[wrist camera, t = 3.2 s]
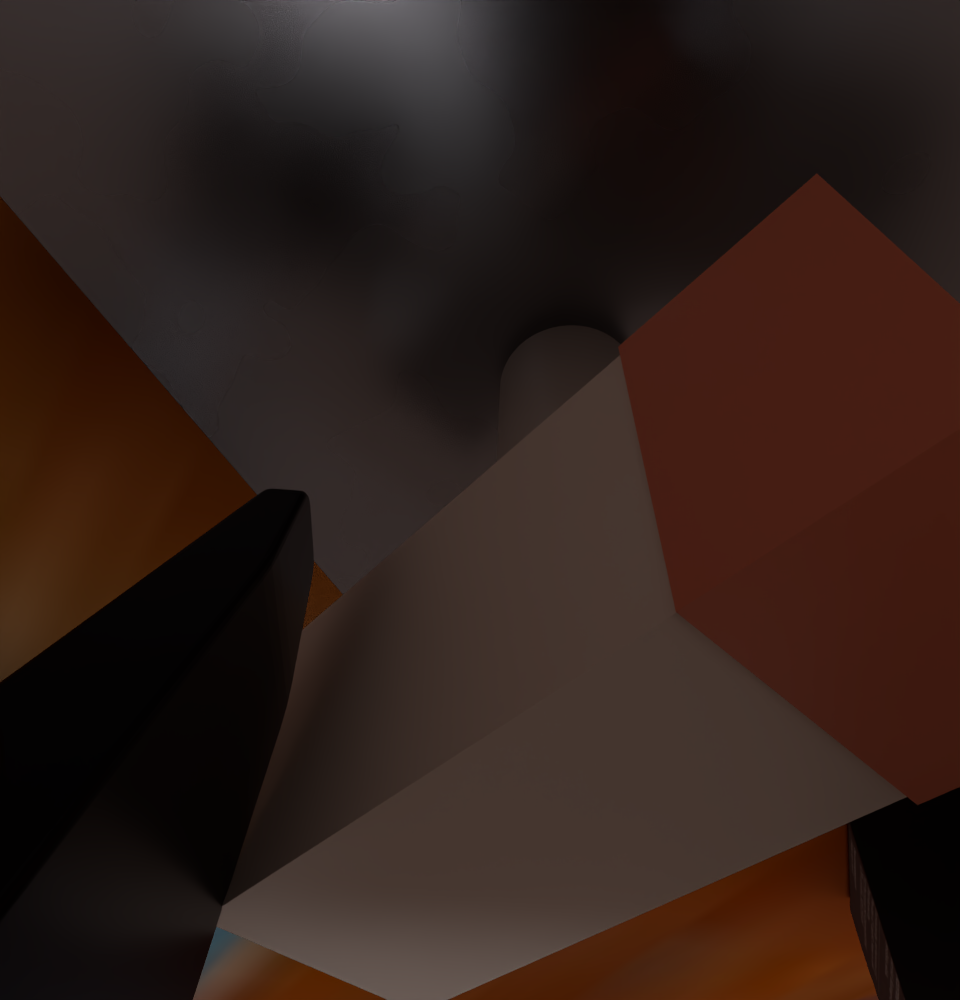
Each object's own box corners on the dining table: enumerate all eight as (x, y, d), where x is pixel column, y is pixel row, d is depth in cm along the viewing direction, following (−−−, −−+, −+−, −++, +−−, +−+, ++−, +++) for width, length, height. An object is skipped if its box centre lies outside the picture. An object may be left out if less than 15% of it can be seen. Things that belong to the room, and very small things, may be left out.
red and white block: (460, 579, 13) (421, 1020, 8) (333, 489, 12) (194, 923, 7) (865, 259, 9) (1256, 659, 4) (734, 98, 9) (1042, 375, 4)
